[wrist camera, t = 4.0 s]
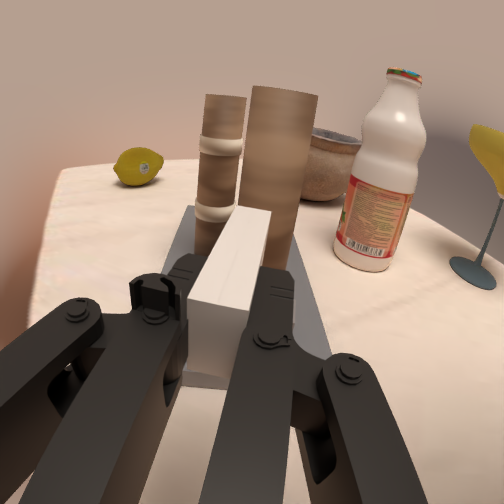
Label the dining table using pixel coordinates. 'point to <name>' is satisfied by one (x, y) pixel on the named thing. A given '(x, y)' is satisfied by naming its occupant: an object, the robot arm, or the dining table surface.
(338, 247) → the fruit juice
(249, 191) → the plain post
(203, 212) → the banded post middle
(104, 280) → the dining table surface
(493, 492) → the dining table surface
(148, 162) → the lemon
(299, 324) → the board
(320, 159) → the ceramic bowl
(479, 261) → the cocktail glass
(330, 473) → the robot arm
